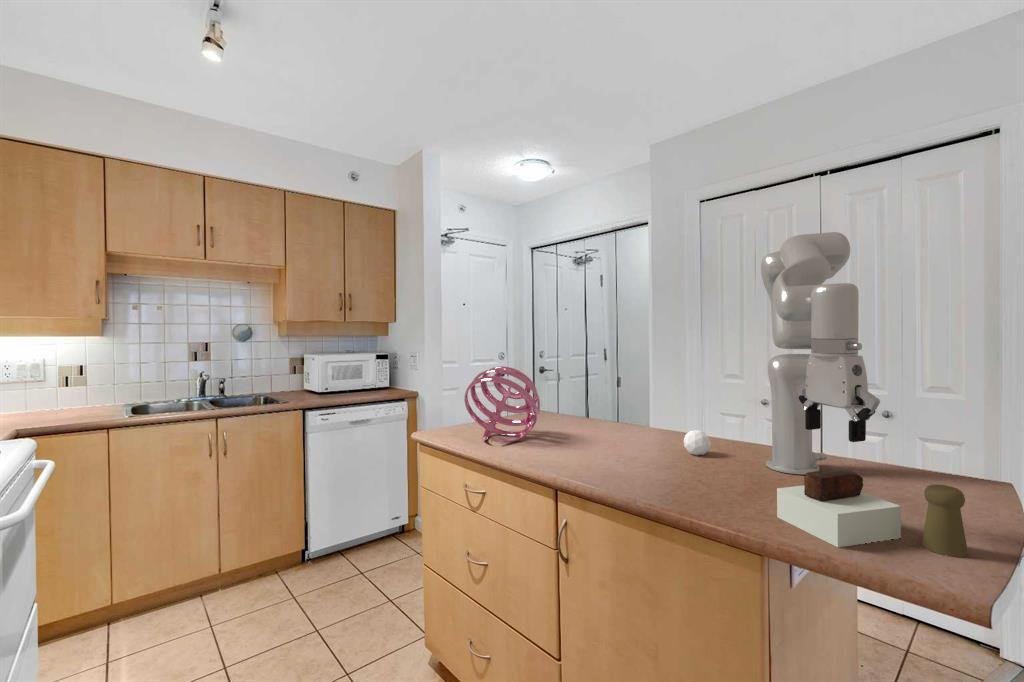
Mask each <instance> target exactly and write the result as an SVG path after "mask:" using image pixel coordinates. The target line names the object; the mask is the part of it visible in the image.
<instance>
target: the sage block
mask: <svg viewBox="0 0 1024 682" xmlns="http://www.w3.org/2000/svg"><path fill="white" fill-rule="evenodd" d="M804 489H805V488H804V485H795V486H786V487H777V488H776V509H777V510H776V513H777V514H776V515H777V516H776V518H778V519H780V520H781V521H784V522H786V523H788V524H790V525H792V526H794V527H796V528H798V529H800V530H802V531H804V532H806V533H808V534H810V535H812V536H814V537H816V538H818V539H820V540H822V541H824V542H826V543H828V544H830V545H832V546H834V547H836V548H845V547H851V546H857V545H859V544H860V545H865V543H867V544H872V543H871V542H874V543H878V542H877V541H880V542H885V541H884V540H887V541H892V540H891V539H894V540H900V539H899V538H901V539H902V505H899V504H897V503H893V502H890V501H887V500H885V499H882V498H880V497H876V496H873V495H870V494H868V493H865V492H862V491H861V493H860V495H859V496H853V497H847V498H841V499H836V500H828V501H819V500H816V499H814V498H811V497H808V496H806V495H805V494H804V493H805V492H804ZM882 540H883V541H882Z"/></svg>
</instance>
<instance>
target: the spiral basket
mask: <svg viewBox="0 0 1024 682" xmlns="http://www.w3.org/2000/svg"><path fill="white" fill-rule="evenodd" d="M493 373H494V375H493V376H492V375H490V374H493ZM503 374H505V375H508V376H511V377H513V378H516V379H518V380H519V381H520V382H522V383H523V384H525V385H524V386H525V387H523V386H521V385H519V384H518V383H517V382H515V381H512V380H510V379H508V378H505V377H502V375H503ZM489 382H490V383H493V385H494V387H495V389H496V391H498V392H499V393H500V395H502V398H501V400H498V399H497V398H496V397H495V396H494V395H493V394H492V392H491V391H490V390H489V387H488V383H489ZM477 384H480V389H481V392H482V393H483V396H484V397H485V399H486V400H488V402H490V403H491V404H492V405H493V406H494V407H495V410H494V411H493V412H492V411H491V410H489V409H488V408H487V407H486V406H485V405H484V404H483V403H482V401H481V400H480V399H479V397H478V395H477V391H476V385H477ZM503 385H505V386H507V387H508V388H507V389H506V387H504V386H503ZM511 389H513V390H514V391H516V392H513V391H511ZM469 391H470V397H471V399H472V401H473V403H474V404H475V406H476V408H477V409H478V410H479V411H480V412H481V413H482V414H483V415H485V416H486V417H487V418H488V419H489V421H488V422H486V421H484V420H483V419H481V418H480V417H479V416H478V415H477V413H475V411H474V410H473V409H472V407H471V404H470V402H469V398H468V397H469V395H468V394H469ZM464 392H465V393H464V405H465V408H466V411H467V413H468V414H469V416H470V417H471V418H472V419H473V421H474V422H475V423H477V424H478V425H479V426H481V427H482V428H483V429H484V432H483V435H482V440H483V441H484V442H487V441H488V440H487V437H489V436H491V434H496V435H498V434H505V435H513V436H512V437H517V438H514V439H506V438H501V437H498V436H494V439H495V440H497V441H498V442H499V441H500V442H502V443H506V444H507V443H508V442H512V443H515V442H514V441H516V442H518V441H520V440H522V439H523V438H525V436H526V435H528V433H529V432H531V431H532V429H534V427H535V426H536V423H537V421H538V418H539V413H540V409H541V400H540V395H539V393H538V389H537V388H536V385H535V384H534V381H533V380H532V379H531V378H530V377H529V376H528V375H527V374H525V373H524V372H522V371H520V370H519V369H516V368H513V367H510V366H495V367H491V368H489V369H486V370H483V371H482V372H480V373H478V374H477V375H476V376H475V377H474V378H473V380H472V381H471V383H469V384H468V386H467V388H466V390H465V391H464ZM531 392H532V393H533V397H532V395H531V394H530V393H531ZM508 399H510V400H511V399H512V400H522V399H523V400H524V403H525V404H524V405H520V406H517V405H516V406H515V405H509V404H508V403H507V400H508ZM502 412H508V413H511V414H524V413H526V414H527V416H526V418H523V419H509V418H505V417H502V416H501V415H502V414H501V413H502ZM497 424H501V425H505V426H510V427H521V426H525V428H524V429H522V430H517V431H512V430H510V431H509V430H503V429H500V428H497V427H496V425H497ZM489 438H490V437H489ZM486 440H487V441H486Z"/></svg>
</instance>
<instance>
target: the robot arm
mask: <svg viewBox="0 0 1024 682" xmlns="http://www.w3.org/2000/svg"><path fill="white" fill-rule="evenodd" d="M850 255H851V244H850V241H849V239H848V238H847V236H846V235H845V234H843V233H841V232H838V231H837V232H836V231H832V232H819V233H818V232H817V233H807V234H804V233H803V234H797V235H794V236H791V237H788V238H787V239H785V240H784V242H783V243H782V244H781V246H780V249H779V251H775V252H770V253H768V254H766V255H765V256H764V257H763V258H762V260H761V263H760V273H761V280H762V283H763V285H764V289H765V290H766V293H767V295H768V297H769V301H770V309H771V310H770V311H771V312H770V314H771V333H772V334H771V335H772V341H773V344H774V345H775V347H776V348H778V349H782V350H810V352H811V353H782V354H778V355H774V356H773V357H771V358H770V359H769V361H768V364H767V373H768V378H769V387H770V391H771V393H770V394H771V441H772V443H771V447H772V449H771V450H772V453H771V454H772V455H771V456H772V458H769V459H767V460H766V463H765V464H766V465H765V466H766V467H767V468H769V469H770V470H772V471H777V472H781V473H785V474H790V475H804V476H805V474H806V473H808V472H813V471H820V466H819V465H818V464H816V463H817V462H818V461H826V460H827V454H826V453H825V452H819V453H816V452H814V451H813V430H820V429H821V428H822V422H821V421H822V419H821V418H822V417H821V416H822V414H821V413H822V411H821V409H819V407H820V406H821V405H823V406H828V407H832V408H837V409H845V411H846V413H847V414H848V415H849V417H850V419H849V420H848V441H849V442H851V443H857V442H858V443H859V442H860V443H861V442H865V441H866V440H867V439H866V434H867V421H869V420H870V419H871V417H872V416H873V415H875V414H876V410H877V409H878V407H879V406H880V404H881V400H880V399H879V398H878V397H877V396H875V395H874V394H872V393H871V392H869V384H868V376H867V369H866V365H865V360H864V357H863V355H860V354H859V351H861V350H862V348H863V345H862V343H860V342H859V298H860V297H859V288H858V286H856V284H853V283H848V282H845V283H843V282H842V283H841V282H840V283H839V282H838V283H825V282H826V281H827V280H828V279H831V278H833V277H834V276H835V275H836V274H837V273H838V272H840V271H841V270H842V268H843V267H845V265H846V264H847V262H848V261H849V258H850Z"/></svg>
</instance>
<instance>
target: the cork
mask: <svg viewBox="0 0 1024 682" xmlns="http://www.w3.org/2000/svg"><path fill="white" fill-rule="evenodd" d="M923 493H924V495H923V496H924V498H925V501H926V502H927V503H928V505H927V509H926V510H927V511H926V515H925V522H924V527H923V533H922V537H921V543H920V545H921V546H922V548H924V549H925V550H927V549H928V551H929V550H930V552H931V553H934V552H935V553H934V554H937V553H939V554H938V555H941V554H942V555H941V556H945V555H947V556H946V557H950V556H951V558H966V556H967V557H968V556H969V552H968V545H967V539H966V534H965V528H964V522H963V516H962V510H961V508H963V507H964V506H965V503H966V497H965V495H964V493H963V491H961V490H960V489H958V488H956V487H954V486H950V485H946V484H938V483H937V484H930V485H927V486H926V487H925V489H924V492H923Z"/></svg>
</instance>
